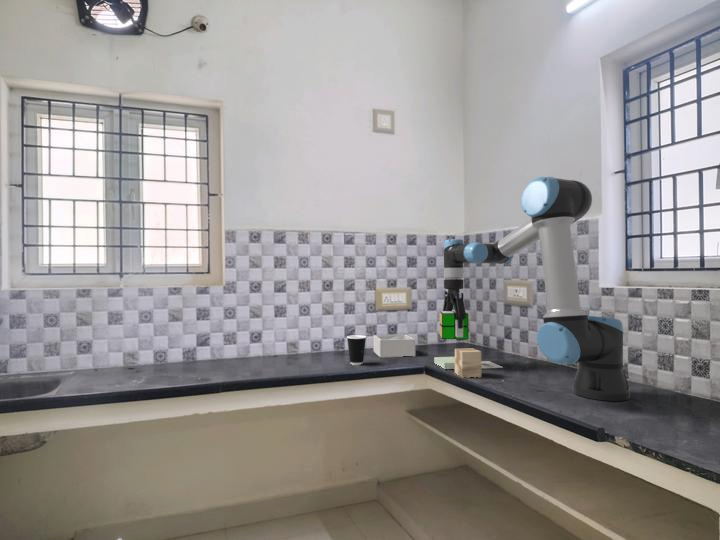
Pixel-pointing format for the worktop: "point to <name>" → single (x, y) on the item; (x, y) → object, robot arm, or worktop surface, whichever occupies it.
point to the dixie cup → (356, 349)
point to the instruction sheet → (489, 365)
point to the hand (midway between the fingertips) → (453, 334)
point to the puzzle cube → (452, 326)
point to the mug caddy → (394, 346)
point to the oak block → (468, 362)
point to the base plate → (445, 362)
